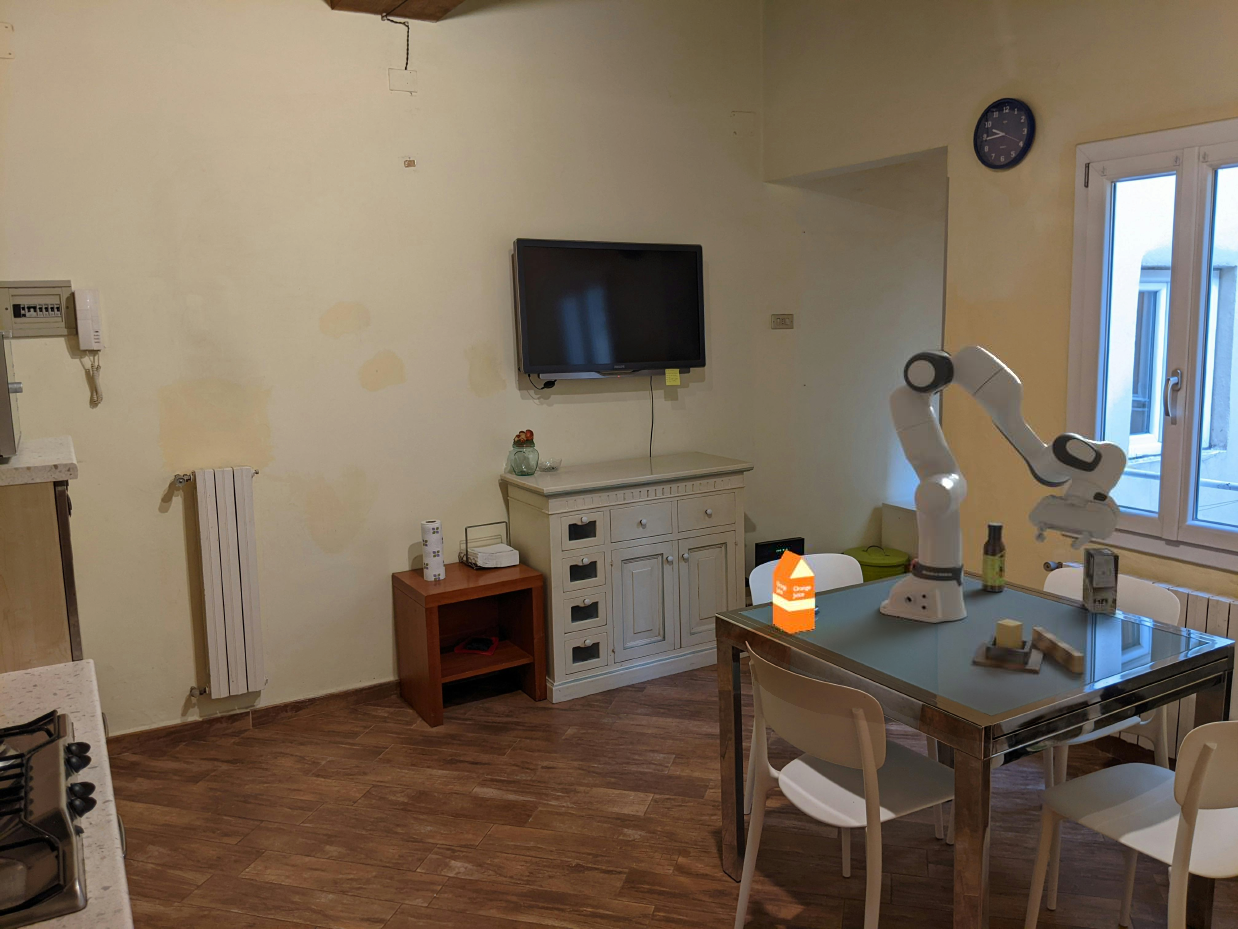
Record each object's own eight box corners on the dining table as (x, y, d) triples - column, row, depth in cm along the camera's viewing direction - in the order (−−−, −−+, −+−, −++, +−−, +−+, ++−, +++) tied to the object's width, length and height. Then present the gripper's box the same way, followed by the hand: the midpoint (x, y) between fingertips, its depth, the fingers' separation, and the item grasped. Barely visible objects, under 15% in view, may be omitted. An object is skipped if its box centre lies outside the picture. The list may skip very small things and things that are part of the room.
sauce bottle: (1003, 593, 265) (1005, 526, 262) (980, 591, 268) (982, 525, 265) (1005, 588, 270) (1007, 522, 268) (983, 585, 274) (985, 521, 271)
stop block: (995, 654, 214) (996, 622, 213) (1006, 651, 216) (1007, 618, 215) (1010, 659, 210) (1011, 626, 209) (1021, 656, 212) (1022, 623, 211)
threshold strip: (1031, 643, 223) (1032, 627, 223) (1040, 642, 223) (1040, 627, 223) (1074, 672, 203) (1075, 655, 203) (1083, 672, 203) (1084, 655, 203)
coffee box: (1117, 614, 244) (1120, 555, 241) (1091, 613, 245) (1093, 554, 243) (1106, 604, 252) (1108, 547, 250) (1081, 603, 254) (1083, 547, 251)
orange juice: (788, 633, 235) (788, 558, 233) (772, 624, 244) (772, 551, 241) (815, 629, 238) (815, 555, 235) (798, 620, 246) (798, 548, 243)
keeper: (972, 664, 211) (972, 648, 210) (981, 645, 223) (981, 630, 222) (1038, 673, 204) (1039, 657, 203) (1044, 653, 216) (1044, 638, 215)
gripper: (1040, 486, 230) (1012, 528, 226) (1118, 498, 212) (1090, 544, 209) (1050, 501, 232) (1023, 543, 229) (1128, 515, 215) (1100, 561, 212)
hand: (1055, 544), depth 219 cm, fingers open, 8 cm apart
